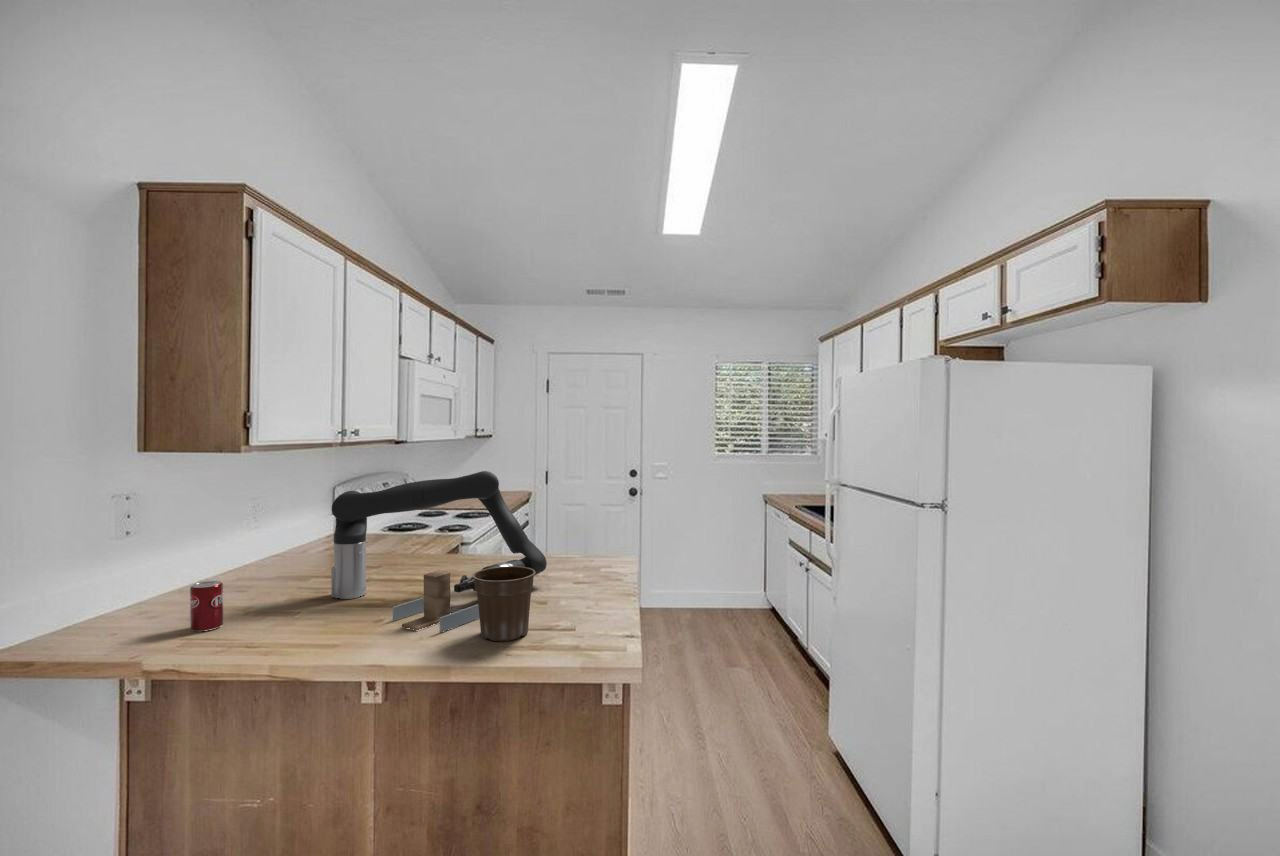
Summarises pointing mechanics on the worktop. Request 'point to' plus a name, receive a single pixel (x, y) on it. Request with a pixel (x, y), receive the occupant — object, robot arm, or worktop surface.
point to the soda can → (206, 605)
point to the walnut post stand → (433, 600)
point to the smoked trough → (446, 621)
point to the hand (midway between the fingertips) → (455, 588)
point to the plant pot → (504, 601)
